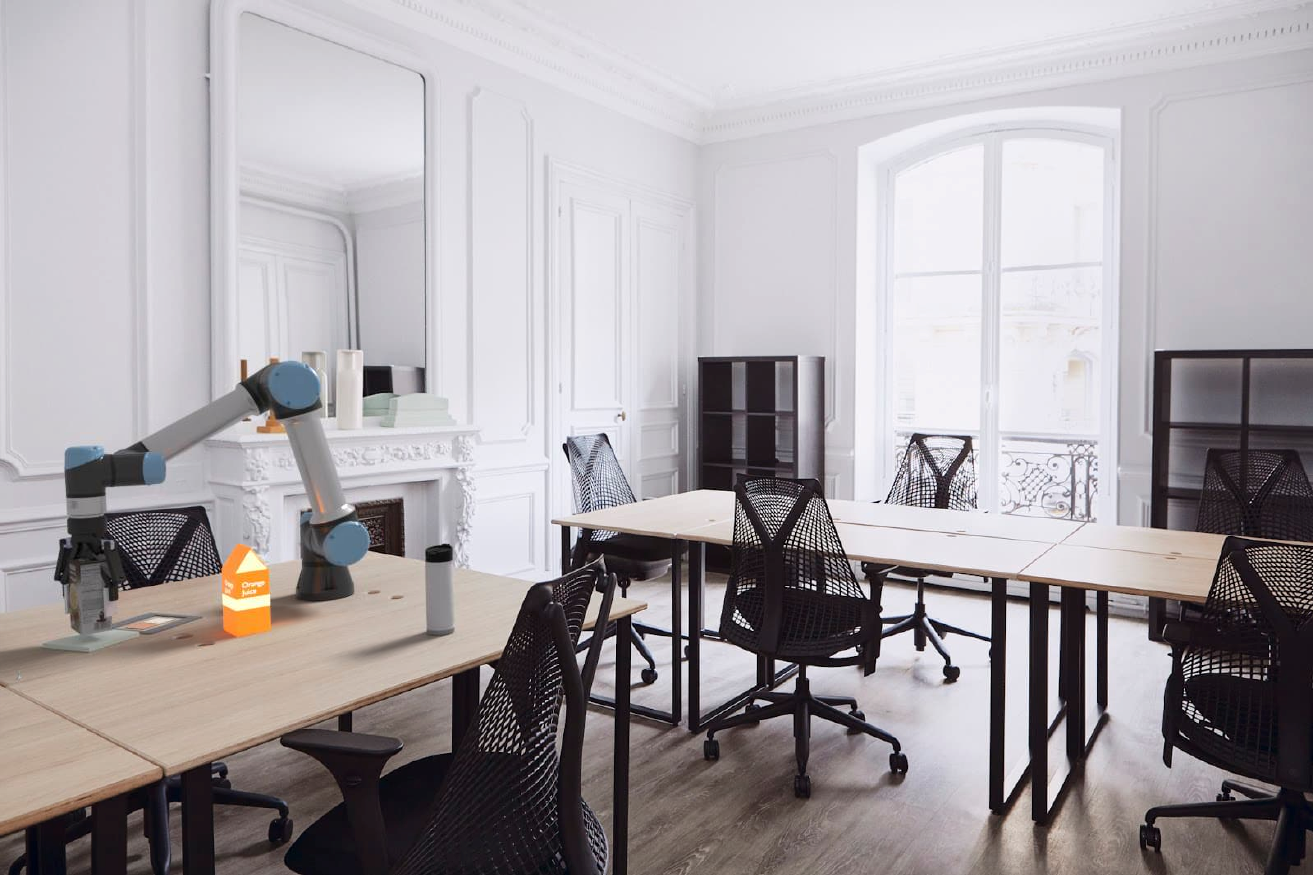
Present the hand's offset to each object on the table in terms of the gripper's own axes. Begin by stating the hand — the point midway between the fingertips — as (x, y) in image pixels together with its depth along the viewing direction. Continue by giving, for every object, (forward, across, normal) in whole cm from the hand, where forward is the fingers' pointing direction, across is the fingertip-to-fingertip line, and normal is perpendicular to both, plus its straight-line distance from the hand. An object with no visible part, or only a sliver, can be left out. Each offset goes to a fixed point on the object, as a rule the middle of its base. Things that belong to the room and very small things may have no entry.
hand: (91, 613), depth 201 cm
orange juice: (+7, +27, +17) cm, 33 cm away
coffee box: (+4, 0, 0) cm, 4 cm away
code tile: (+6, 0, +16) cm, 17 cm away
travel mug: (+7, +72, +27) cm, 77 cm away
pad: (+6, 0, 0) cm, 6 cm away
